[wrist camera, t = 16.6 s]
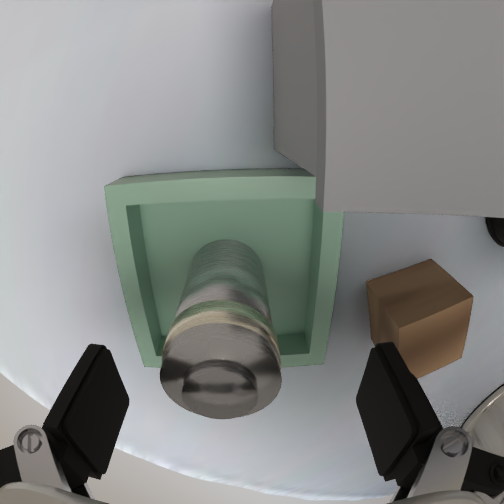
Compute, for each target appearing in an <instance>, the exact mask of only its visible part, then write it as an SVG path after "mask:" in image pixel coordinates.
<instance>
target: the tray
mask: <svg viewBox="0 0 504 504" xmlns="http://www.w3.org/2000/svg"><path fill="white" fill-rule="evenodd" d="M104 189H105V197H106V204H107V211H108V218H109V224H110V230H111V236H112V242H113V247H114V252H115V257H116V262H117V267H118V272H119V276H120V281H121V285H122V289H123V294H124V298H125V302H126V306H127V310H128V313H129V317H130V321H131V324H132V328H133V331H134V335H135V338H136V342H137V345H138V348H139V352H140V355H141V358H142V361H143V364H144V367H156V368H161V365H162V353H163V349H164V345H165V342H166V338H167V335H168V332H169V329H170V326H171V324H172V322H173V321H174V319H175V315H176V312H177V308H178V305H179V302H180V298H181V295H182V292H183V288H184V285H185V282H186V279H187V275H188V272H189V269H190V266H191V263H192V260H193V258H194V256H195V255H196V253H197V252H198V251H199V250H200V249H201V248H202V247H203V246H205V245H206V244H208V243H210V242H213V241H216V240H222V239H230V240H236V241H239V242H242V243H244V244H246V245H248V246H249V247H250V248H252V249H253V250H254V251H255V252H256V254H257V255H258V256H259V258H260V260H261V263H262V267H263V272H264V278H265V283H266V289H267V295H268V301H269V307H270V312H271V318H272V324H273V327H274V330H275V332H276V336H277V341H278V346H279V352H280V358H281V367H293V366H306V365H317V364H324V359H325V354H326V349H327V343H328V337H329V331H330V325H331V319H332V313H333V306H334V299H335V292H336V284H337V277H338V268H339V260H340V251H341V241H342V231H343V220H344V212H323V211H322V210H321V209H320V208H319V207H318V206H317V205H316V204H315V190H316V177H315V176H314V175H313V174H311V173H310V172H308V171H307V170H305V169H233V170H208V171H189V172H174V173H161V174H149V175H138V176H128V177H122V178H120V179H118V180H116V181H114V182H112V183H110V184H108V185H106V186H104Z"/></svg>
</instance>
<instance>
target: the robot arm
mask: <svg viewBox="0 0 504 504" xmlns="http://www.w3.org/2000/svg"><path fill="white" fill-rule="evenodd" d="M356 403H357V407H358V410H359V413H360V416H361V419H362V422H363V425H364V428H365V431H366V434H367V438H368V441H369V444H370V447H371V450H372V454H373V457H374V460H375V464H376V467H377V470H378V473H379V475H380V476H384V480H385V481H389V480H393V479H396V482H397V485H398V487H397V489H396V491H395V493H394V495H393V497H392V499H391V500H390V502H389V503H387V504H504V385H503V386H502V387H501V388H499V389H498V390H497V391H496V392H494V393H493V394H492V395H491V396H490V397H489V398H488V399H486V400H485V401H484V402H483V403H482V404H481V405H480V406H479V407H478V408H477V409H476V410H475V411H474V412H473V414H472V415H471V416H470V417H469V418H468V419H467V421H466V422H465V424H464V425H463V427H462V429H461V428H459V427H454V426H453V427H447V428H445V429H443V427H442V425H441V423H440V422H439V420H438V418H437V416H436V414H435V412H434V410H433V408H432V406H431V404H430V402H429V400H428V399H427V397H426V395H425V393H424V391H423V389H422V387H421V386H420V384H419V382H418V380H417V378H416V377H415V376H414V374H412V373H411V372H410V371H409V369H408V367H407V365H406V363H405V362H404V360H403V358H402V356H401V355H400V353H399V351H398V350H397V348H396V346H395V344H394V343H393V342H384V343H378V344H376V346H375V348H372V349H371V351H370V355H369V358H368V362H367V365H366V368H365V372H364V375H363V378H362V381H361V384H360V387H359V390H358V393H357V397H356ZM128 406H129V397H128V394H127V392H126V390H125V387H124V385H123V382H122V380H121V377H120V375H119V372H118V370H117V367H116V365H115V362H114V359H113V357H112V354H111V352H110V350H108V349H107V348H106V346H104V345H97V344H89V346H88V347H87V348H86V350H85V352H84V353H83V355H82V357H81V358H80V360H79V361H78V363H77V365H76V366H75V368H74V370H73V371H72V373H71V375H70V377H69V378H68V380H67V382H66V383H65V385H64V387H63V389H62V390H61V392H60V394H59V396H58V397H57V399H56V401H55V403H54V405H53V407H52V408H51V410H50V412H49V414H48V416H47V418H46V420H45V422H44V423H43V424H44V425H43V427H42V428H41V427H39V426H36V425H27V426H25V427H23V428H21V429H20V430H19V431H18V432H17V434H16V435H15V437H14V445H12V446H10V447H7V448H5V449H2V450H0V504H108V503H105V502H101V501H97V500H95V498H94V496H93V495H92V492H91V490H90V488H89V486H88V484H87V480H88V477H92V478H96V479H99V480H100V479H101V476H102V474H105V473H106V471H107V468H108V465H109V462H110V459H111V456H112V453H113V450H114V447H115V444H116V441H117V438H118V435H119V432H120V429H121V426H122V423H123V420H124V417H125V414H126V412H127V409H128Z"/></svg>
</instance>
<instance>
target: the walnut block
mask: <svg viewBox="0 0 504 504" xmlns="http://www.w3.org/2000/svg"><path fill="white" fill-rule="evenodd" d="M366 284H367V293H368V303H369V315H370V328H371V339H372V341H373V343H374V345H375V346H376V344H378V343H384V342H393V343H394V344H395V346H396V348H397V350H398V351H399V353H400V355H401V356H402V358H403V360H404V362H405V363H406V365H407V367H408V369H409V371H410V372H411V373H412V374H414V376H415V377H416V378H420V377H422V376H424V375H426V374H429V373H431V372H433V371H435V370H437V369H439V368H442V367H444V366H446V365H448V364H450V363H452V362H454V361H456V360H458V359H460V358H462V354H463V350H464V345H465V341H466V336H467V331H468V326H469V321H470V315H471V309H472V303H473V295H472V294H471V293H470V292H468V291H467V290H466V289H465V288H464V287H463V286H462V285H461V284H460V283H459V282H457V281H456V280H455V279H454V278H453V277H452V276H451V275H450V274H448V273H447V272H446V271H445V270H444V269H443V268H441V267H440V266H439V265H438V264H437V263H436V262H434V261H433V260H432V259H429V260H427V261H424V262H421V263H418V264H416V265H413V266H410V267H407V268H404V269H401V270H398V271H396V272H393V273H390V274H387V275H384V276H381V277H378V278H375V279H372V280H369V281H366Z"/></svg>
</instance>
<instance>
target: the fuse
mask: <svg viewBox="0 0 504 504" xmlns="http://www.w3.org/2000/svg"><path fill="white" fill-rule="evenodd" d="M280 370H281V358H280V352H279V346H278V341H277V336H276V332H275V330H274V327H273V324H272V318H271V312H270V307H269V301H268V295H267V289H266V283H265V278H264V272H263V267H262V263H261V260H260V258H259V256H258V255H257V254H256V252H255V251H254V250H253V249H252V248H250V247H249V246H248V245H246V244H244V243H242V242H239V241H236V240H230V239H222V240H216V241H213V242H210V243H208V244H206V245H205V246H203V247H202V248H201V249H200V250H199V251H198V252H197V253H196V255H195V256H194V258H193V260H192V263H191V266H190V269H189V272H188V275H187V279H186V282H185V285H184V288H183V292H182V295H181V298H180V302H179V305H178V308H177V312H176V315H175V319H174V321H173V322H172V324H171V326H170V329H169V332H168V335H167V338H166V342H165V345H164V349H163V353H162V365H161V370H160V380H161V384H162V387H163V389H164V390H165V392H166V393H167V395H168V396H169V397H170V398H171V399H172V400H173V401H174V402H175V403H177V404H178V405H179V406H181V407H183V408H184V409H186V410H188V411H191V412H193V413H196V414H199V415H202V416H205V417H209V418H214V419H231V418H236V417H241V416H246V415H249V414H252V413H255V412H257V411H259V410H261V409H263V408H264V407H266V406H267V405H269V404H270V403H271V402H272V401H273V400H274V399H275V397H276V396H277V394H278V393H279V390H280V388H281V383H282V378H281V372H280Z"/></svg>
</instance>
